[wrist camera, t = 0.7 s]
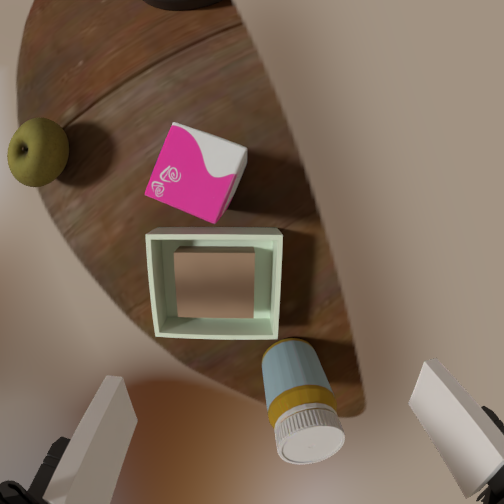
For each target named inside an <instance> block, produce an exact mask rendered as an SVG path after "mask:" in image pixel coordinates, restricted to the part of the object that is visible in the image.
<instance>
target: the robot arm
mask: <svg viewBox="0 0 504 504" xmlns="http://www.w3.org/2000/svg"><path fill="white" fill-rule="evenodd" d="M143 1H144V2H146V3H147V4H149V5H151V6H153V7H156V8H160V9H166V10H188V9H195V8H200V7H205V6H208V5H211V4H214V3H217V2H220V1H222V0H143ZM408 404H409V406H410V407H411V409H412V410H413V412H414V414H415V415H416V417H417V418H418V420H419V421H420V423H421V425H422V426H423V428H424V429H425V431H426V432H427V434H428V435H429V437H430V439H431V440H432V442H433V444H434V445H435V447H436V449H437V450H438V452H439V453H440V455H441V457H442V458H443V460H444V462H445V463H446V465H447V467H448V468H449V470H450V472H451V473H452V475H453V477H454V479H455V480H456V482H457V484H458V486H459V487H460V489H461V491H462V493H463V494H464V496H465V498H466V499H467V498H468V497H470V496H472V495H473V494H475V493H477V492H478V491H480V490H481V488H483V487H484V486H485V484H488V485H489V486H488V488H486V489H485V490H484V491H483V492H482V493H481V494H480V495H479V496H478V498H477V500H476V501H479V500H480V499H481V498H482V497H483V496H484V495H485V497H484V498H483V499H482V500H481V502H483V504H504V425H503V423H502V421H501V420H499V418H498V417H497V416H496V414H495V413H494V412H493V411H492V410H490V409H488V408H487V407H485V406H483V407H480V406H479V405H478V404H477V402H476V401H475V400H474V399H473V398H472V397H471V395H470V394H469V393H468V392H467V391H466V390H465V389H464V388H463V387H462V385H461V384H460V383H459V382H458V381H457V380H456V379H455V378H454V376H453V375H452V374H451V373H450V372H449V371H448V370H447V369H446V368H445V367H444V366H443V365H442V363H441V362H440V361H439V360H438V359H437V358H435V359H431V360H427V361H424V364H423V366H422V369H421V372H420V375H419V378H418V381H417V383H416V386H415V388H414V391H413V393H412V396H411V398H410V401H409V403H408ZM136 424H137V418H136V415H135V412H134V410H133V407H132V404H131V401H130V398H129V395H128V393H127V389H126V387H125V383H124V380H123V377H118V376H110V375H107V376H106V377H105V379H104V381H103V383H102V384H101V386H100V388H99V389H98V391H97V393H96V395H95V396H94V398H93V400H92V402H91V403H90V405H89V407H88V409H87V411H86V412H85V414H84V416H83V418H82V420H81V422H80V423H79V426H78V427H77V429H76V431H75V433H74V435H73V437H72V439H67V438H64V437H60V438H59V439H58V440H57V441H56V442H54V443H53V444H52V446H51V448H50V450H49V451H48V453H47V456H46V457H45V459H44V461H43V464H41V466H40V468H39V470H38V472H37V474H36V476H35V478H34V480H33V482H32V484H31V486H30V488H29V489H28V491H26V490H25V489H24V488H23V487H22V486H21V485H20V484H19V483H16V482H15V481H5V482H2V483H1V484H0V504H110V502H111V499H112V495H113V492H114V489H115V486H116V482H117V479H118V476H119V473H120V470H121V467H122V464H123V461H124V458H125V455H126V452H127V449H128V446H129V443H130V441H131V438H132V435H133V432H134V429H135V426H136Z"/></svg>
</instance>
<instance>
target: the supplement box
mask: <svg viewBox="0 0 504 504" xmlns="http://www.w3.org/2000/svg"><path fill="white" fill-rule="evenodd" d="M247 162H248V161H247V148H246V147H244V146H241V145H239V144H236V143H234V142H231V141H228V140H226V139H223V138H220V137H218V136H215V135H212V134H209V133H206V132H203V131H200V130H197V129H194V128H191V127H188V126H185V125H182V124H178V123H175V122H173V124H172V126H171V128H170V130H169V133H168V135H167V137H166V140H165V142H164V145H163V147H162V149H161V152H160V154H159V157H158V159H157V162H156V165H155V167H154V170H153V172H152V175H151V178H150V181H149V183H148V186H147V189H146V191H145V195H146V196H148V197H151V198H153V199H156V200H158V201H161V202H163V203H165V204H168V205H170V206H172V207H175V208H177V209H180V210H182V211H184V212H187V213H189V214H191V215H194V216H196V217H198V218H201V219H203V220H206V221H208V222H210V223H213V224H215V223H216V222H217V221H218V220H219V219H220V217H221V216H222V215H223V213H224V212H225V211H226V209H227V208H228V207H229V205H230V203H231V200H232V198H233V196H234V194H235V191H236V189H237V187H238V184H239V182H240V180H241V177H242V175H243V172H244V170H245V167H246V165H247Z"/></svg>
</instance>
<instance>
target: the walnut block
mask: <svg viewBox="0 0 504 504" xmlns="http://www.w3.org/2000/svg"><path fill="white" fill-rule="evenodd" d="M174 271H175V286H176V300H177V312H178V317H192V318H254V279H255V251H254V247H252V246H179V247H178V248H177V249H176V250H175V252H174Z"/></svg>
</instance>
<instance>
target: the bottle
mask: <svg viewBox="0 0 504 504" xmlns="http://www.w3.org/2000/svg"><path fill="white" fill-rule="evenodd" d="M262 371H263V379H264V387H265V395H266V403H267V411H268V417H269V422H270V424H271V425H272V427H273V428H274V430H275V438H276V445H277V452H278V454H279V456H280V457H281V459H283V460H284V461H286V462H288V463H292V464H311V463H316V462H319V461H322V460H324V459H327V458H329V457H330V456H332V455H333V454H335V453H336V452H337V451H338V450H339V449H340V448H341V447H342V446H343V444H344V441H345V434H344V431H343V428H342V426H341V423H340V421H339V418H338V416H337V413H336V410H337V402H336V400H335V397H334V394H333V392H332V390H331V387H330V385H329V382H328V380H327V378H326V375H325V373H324V371H323V368H322V366H321V364H320V361H319V359H318V357H317V354H316V352H315V350H314V348H313V347H312V346H311V345H310V344H309V343H308V342H306V341H304V340H302V339H297V338H288V339H283V340H280V341H278V342H276V343H274V344H273V345H271V346H270V347H269V348H268V349H267V350H266V352H265V353H264V355H263V359H262Z"/></svg>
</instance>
